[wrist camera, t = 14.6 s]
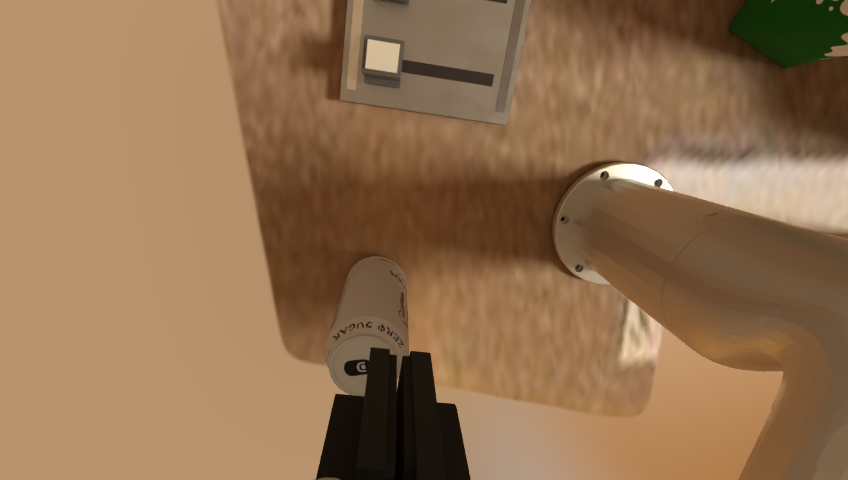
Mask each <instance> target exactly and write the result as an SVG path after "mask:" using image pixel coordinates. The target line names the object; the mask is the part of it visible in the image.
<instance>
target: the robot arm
mask: <svg viewBox="0 0 848 480" xmlns="http://www.w3.org/2000/svg"><path fill="white" fill-rule="evenodd" d="M601 173H602V176H601V177H600V174H601ZM562 217H564V218H563V220H561V218H562ZM552 237H553V244H554V247H555V250H556V253H557V255H558V257H559V258H560V260H561V262H562V263H563V264H564V265H565V266H566V267H567V268H568V269H569V270H570V271H571V272H572V273H573V274H574V275H576V276H578V277H579V278H581V279H583V280H585V281H588V282H591V283H594V284H602V285H613V286H614V287H615V288H616V289H618V290H619V291H620V292H621V293H623V294H624V295H625V296H626V297H627V298H629V299H630V300H631V301H632V302H634V303H635V304H636V305H637V306H639V307H640V308H641V309H642V310H644V311H645V312H646V313H647V314H648V315H650V316H651V317H652V318H653V319H655V320H656V321H657V322H658V323H660V324H661V325H662V326H663V327H665V328H666V329H667V330H668V331H670V332H671V333H672V334H673V335H675V336H676V337H677V338H679V339H680V340H681V341H682V342H684V343H685V344H686V345H687V346H689V347H690V348H691V349H693V350H694V351H696V352H697V353H698V354H700V355H702V356H703V357H705V358H707V359H709V360H711V361H713V362H715V363H718V364H721V365H724V366H727V367H731V368H735V369H741V370H751V371H783V373H784V374H783V379H782V383H781V385H780V388H779V390H778V393H777V396H776V398H775V400H774V402H773V404H772V407H771V413H770V415H769V417H768V419H767V421H766V423H765V425H764V427H763V429H762V431H761V433H760V435H759V437H758V439H757V442H756V444H755V446H754V448H753V450H752V452H751V454H750V456H749V458H748V460H747V462H746V464H745V466H744V469H743V471H742V473H741V475H740V478H739V480H848V238H845V237H840V236H836V235H831V234H827V233H823V232H819V231H815V230H811V229H808V228H804V227H800V226H796V225H793V224H789V223H785V222H782V221H778V220H775V219H771V218H767V217H762V216H759V215H755V214H752V213H748V212H745V211H741V210H738V209H734V208H731V207H727V206H724V205H720V204H717V203H713V202H709V201H706V200H702V199H699V198H695V197H692V196H688V195H685V194H681V193H678V192H674V190H673V188H672V186H671V185H670V183H669V182H668V181H667V179H666V178H665V177H663V176H662V175H661V174H660V173H659V172H657V171H656V170H654V169H652V168H650V167H648V166H645V165H641V164H637V163H630V162H613V163H609V164H605V165H601V166H599V167H597V168H594V169H592V170H590V171H588V172H587V173H585V174H584V175H583V176H581V177H580V178H578V179H577V180H576V181H575V182H574V183H573V184H572V185H571V186H570V187H569V188H568V190H567V191H566V192H565V194H564V195H563V197H562V198H561V200H560V202H559V204H558V206H557V208H556V212H555V215H554V218H553V226H552ZM577 265H578V266H577ZM576 266H577V267H576ZM316 480H470V475H469V469H468V464H467V459H466V454H465V449H464V444H463V438H462V433H461V429H460V423H459V418H458V413H457V408H456V406H455V404H448V403H437V401H436V393H435V385H434V377H433V370H432V362H431V355H430V353H426V352H416V351H411V352H410V356H403V357H402V362H401V368H400V375H399V381H398V388H397V355H392V354H390V349H385V348H375V347H371V349H370V357H369V365H368V372H367V380H366V388H365V396H355V395H343V394H336V395H335V398H334V403H333V407H332V411H331V416H330V420H329V425H328V429H327V433H326V438H325V442H324V447H323V451H322V455H321V460H320V464H319V468H318V473H317V478H316Z"/></svg>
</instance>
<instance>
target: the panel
mask: <svg viewBox="0 0 848 480" xmlns="http://www.w3.org/2000/svg"><path fill="white" fill-rule="evenodd" d="M530 5H531V0H409V3H404V2H399V1H393V0H347V13H346V26H345V39H344V52H343V65H342V78H341V91H340V100H342V101H349V102H355V103H362V104H369V105H375V106H382V107H389V108H395V109H402V110H409V111H415V112H422V113H429V114H436V115H442V116H449V117H456V118H462V119H469V120H476V121H482V122H489V123H496V124H502V125H507V123H508V118H509V113H510V108H511V103H512V97H513V92H514V87H515V82H516V77H517V72H518V67H519V61H520V56H521V51H522V46H523V41H524V36H525V31H526V25H527V20H528V15H529V10H530ZM364 35H372V36H378V37H384V38H390V39H396V40H402V41H405V45H404V53H403V62H402V71H401V79H400V88H397V87H390V86H384V85H377V84H371V83H364V75H363V74H362V72H361V68H362V57H363V46H364Z"/></svg>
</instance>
